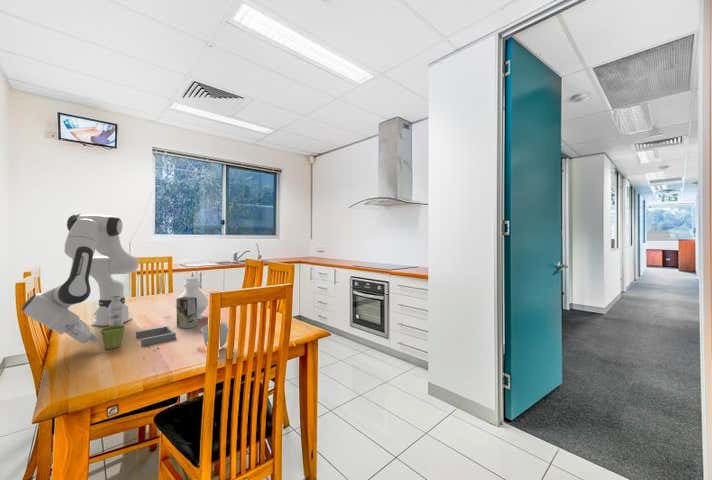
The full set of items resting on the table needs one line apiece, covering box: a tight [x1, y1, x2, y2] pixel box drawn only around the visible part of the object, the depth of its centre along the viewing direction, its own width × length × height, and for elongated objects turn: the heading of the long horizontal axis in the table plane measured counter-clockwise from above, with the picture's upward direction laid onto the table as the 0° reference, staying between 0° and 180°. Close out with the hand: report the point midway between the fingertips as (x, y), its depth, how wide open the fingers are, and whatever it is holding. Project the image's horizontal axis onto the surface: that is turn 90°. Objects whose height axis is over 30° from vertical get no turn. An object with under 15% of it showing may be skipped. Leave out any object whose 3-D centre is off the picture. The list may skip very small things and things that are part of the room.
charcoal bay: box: [135, 325, 177, 347], centre depth 155 cm, size 15×14×3 cm
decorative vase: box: [175, 276, 209, 320], centre depth 190 cm, size 18×18×25 cm
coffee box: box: [175, 297, 198, 329], centre depth 174 cm, size 9×6×16 cm
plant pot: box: [99, 324, 126, 350], centre depth 143 cm, size 9×9×9 cm
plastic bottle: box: [108, 296, 125, 334], centre depth 158 cm, size 6×7×20 cm
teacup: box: [200, 323, 230, 348], centre depth 143 cm, size 12×15×10 cm
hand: (96, 340), depth 139 cm, fingers closed
